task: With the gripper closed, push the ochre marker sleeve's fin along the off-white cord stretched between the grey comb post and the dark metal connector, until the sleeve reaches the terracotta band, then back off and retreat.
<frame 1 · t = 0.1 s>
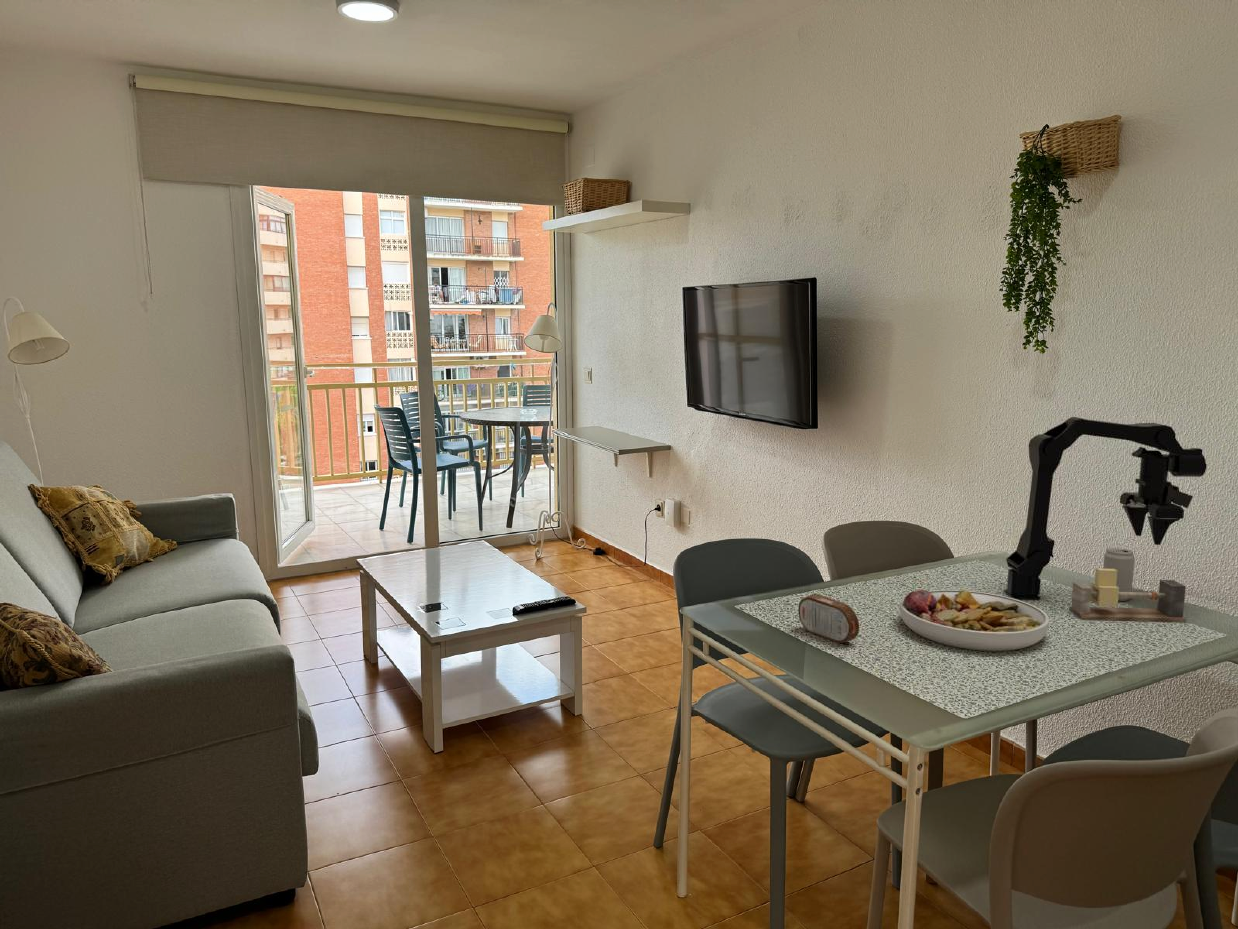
hand: (1147, 540, 210), 15 cm above the table, fingers open, 9 cm apart
beverage can: (1115, 599, 213), on the table
bowl: (971, 632, 190), on the table
tin: (826, 638, 186), on the table
marker sleeve: (1105, 586, 199), point 7 cm above the table, slide at 0.0 cm
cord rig: (1125, 616, 199), on the table
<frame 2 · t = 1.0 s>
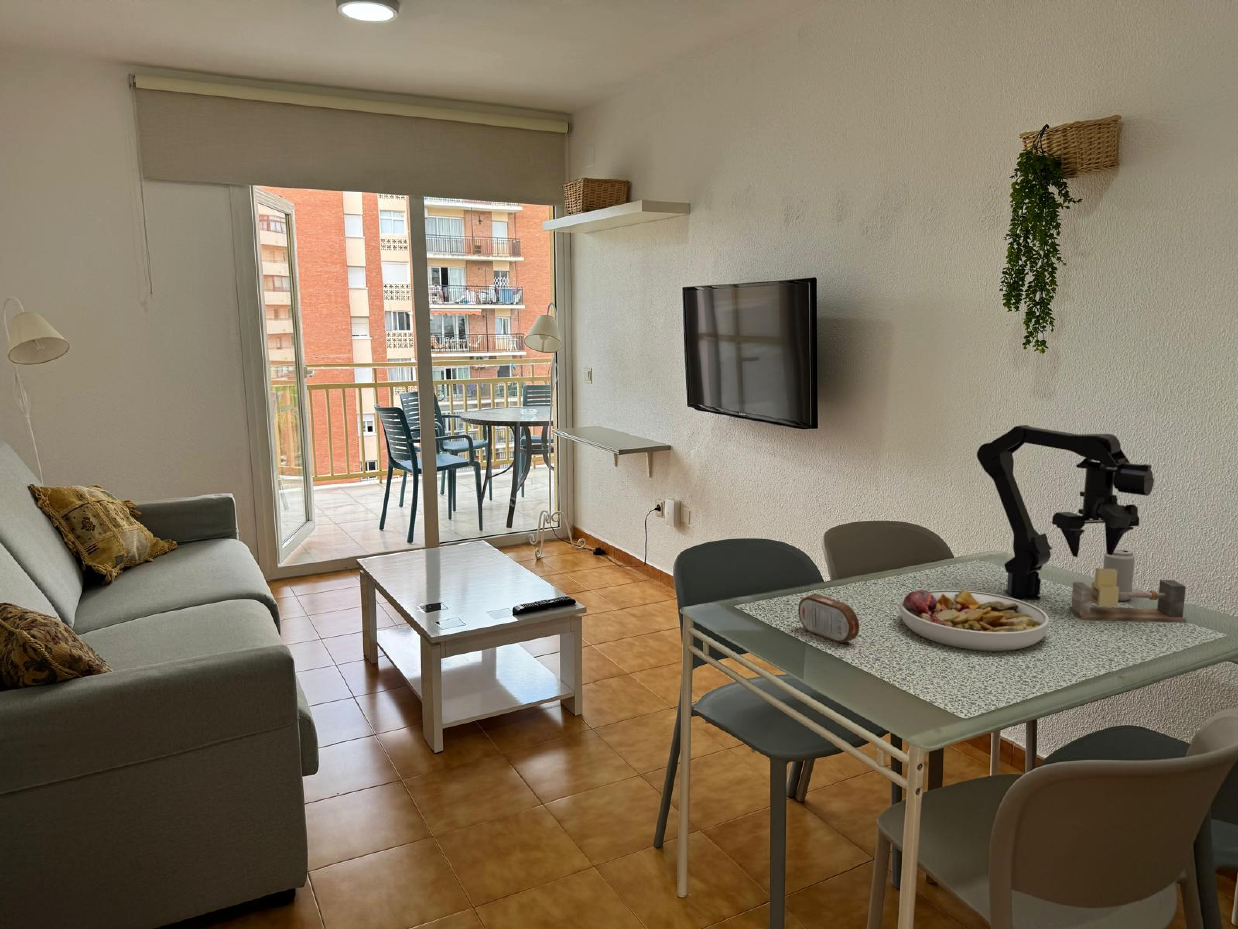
hand: (1092, 555, 201), 13 cm above the table, fingers open, 9 cm apart
nothing on the table moved.
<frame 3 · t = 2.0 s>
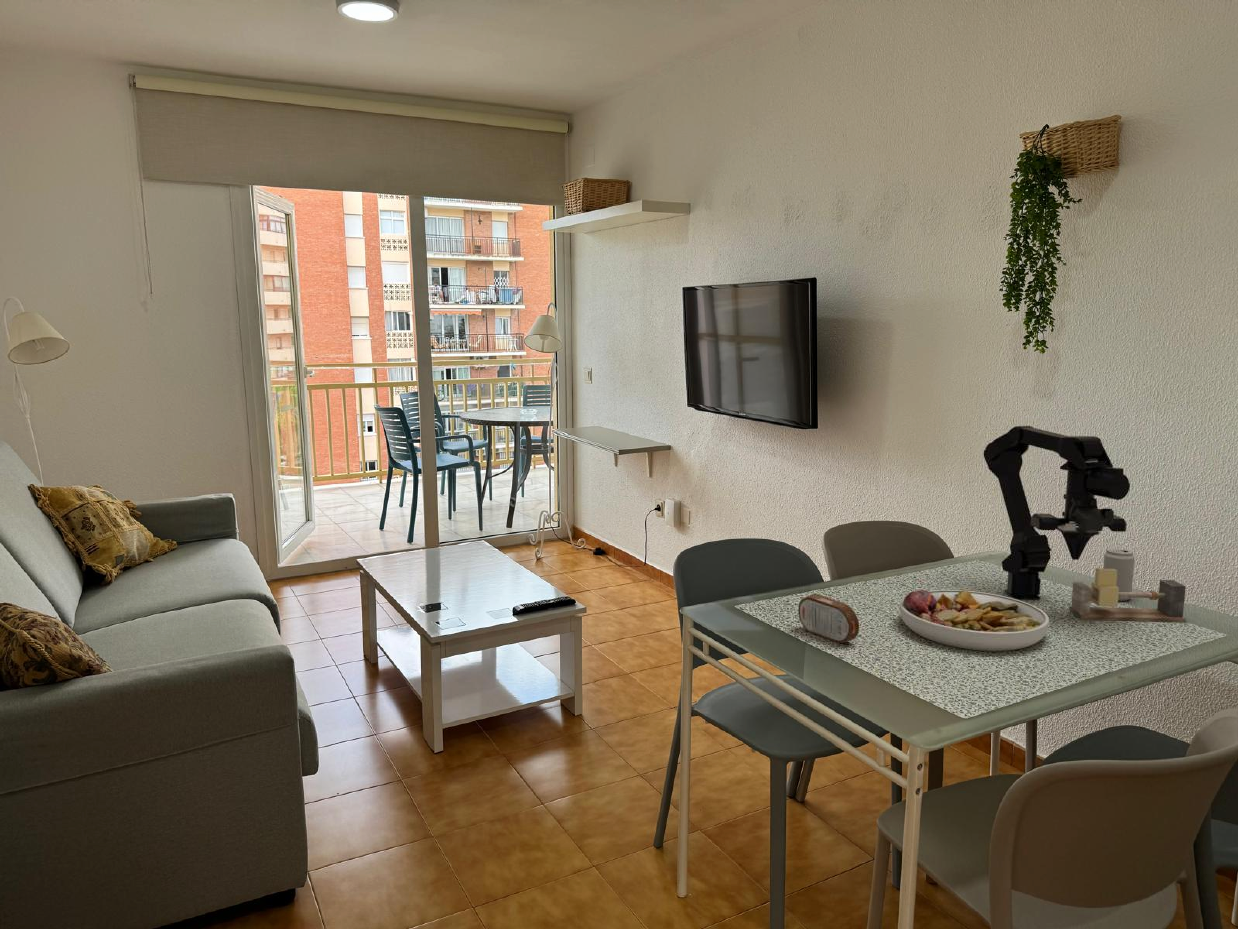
hand: (1075, 559, 198), 13 cm above the table, fingers closed
nothing on the table moved.
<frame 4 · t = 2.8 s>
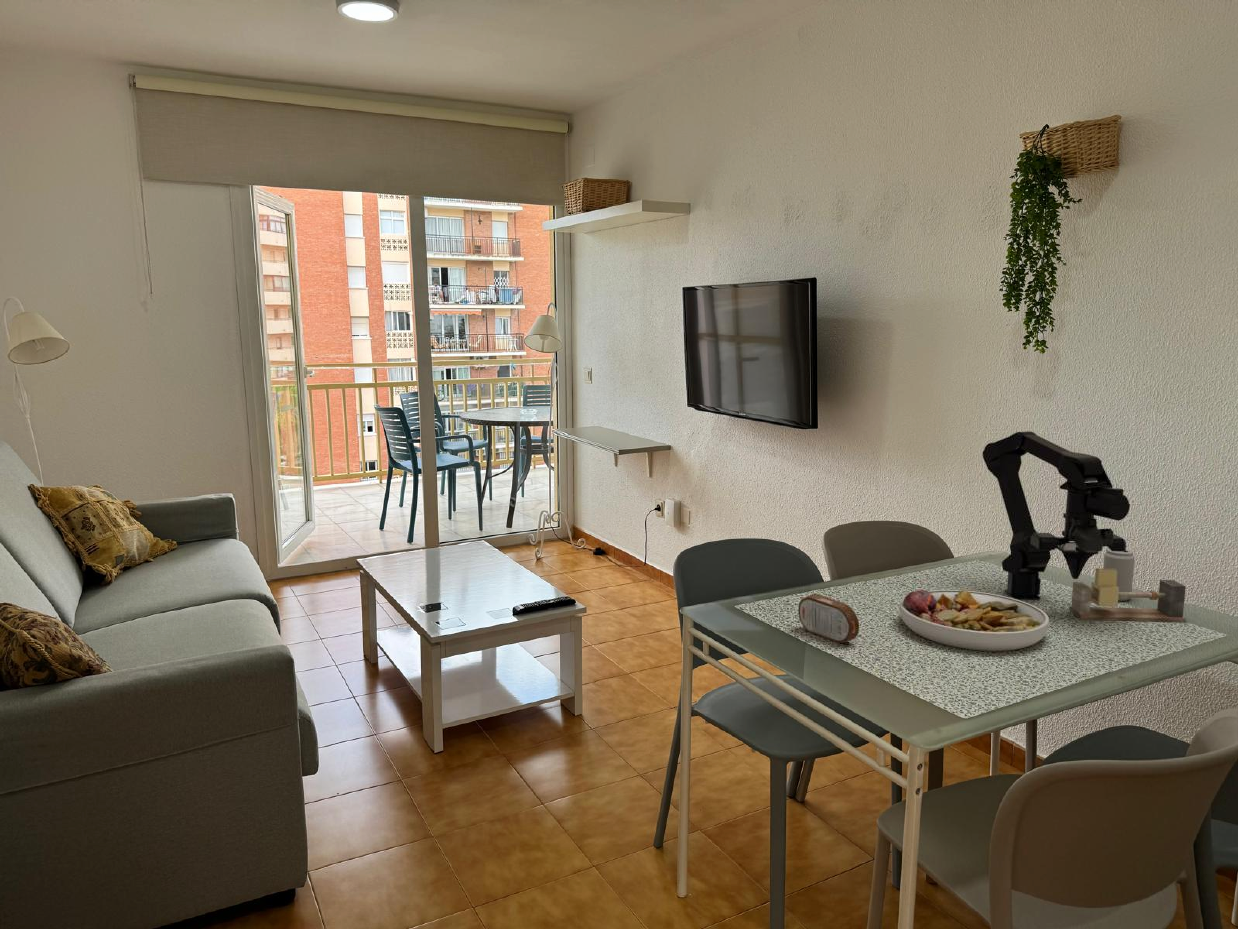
hand: (1074, 578, 199), 9 cm above the table, fingers closed
nothing on the table moved.
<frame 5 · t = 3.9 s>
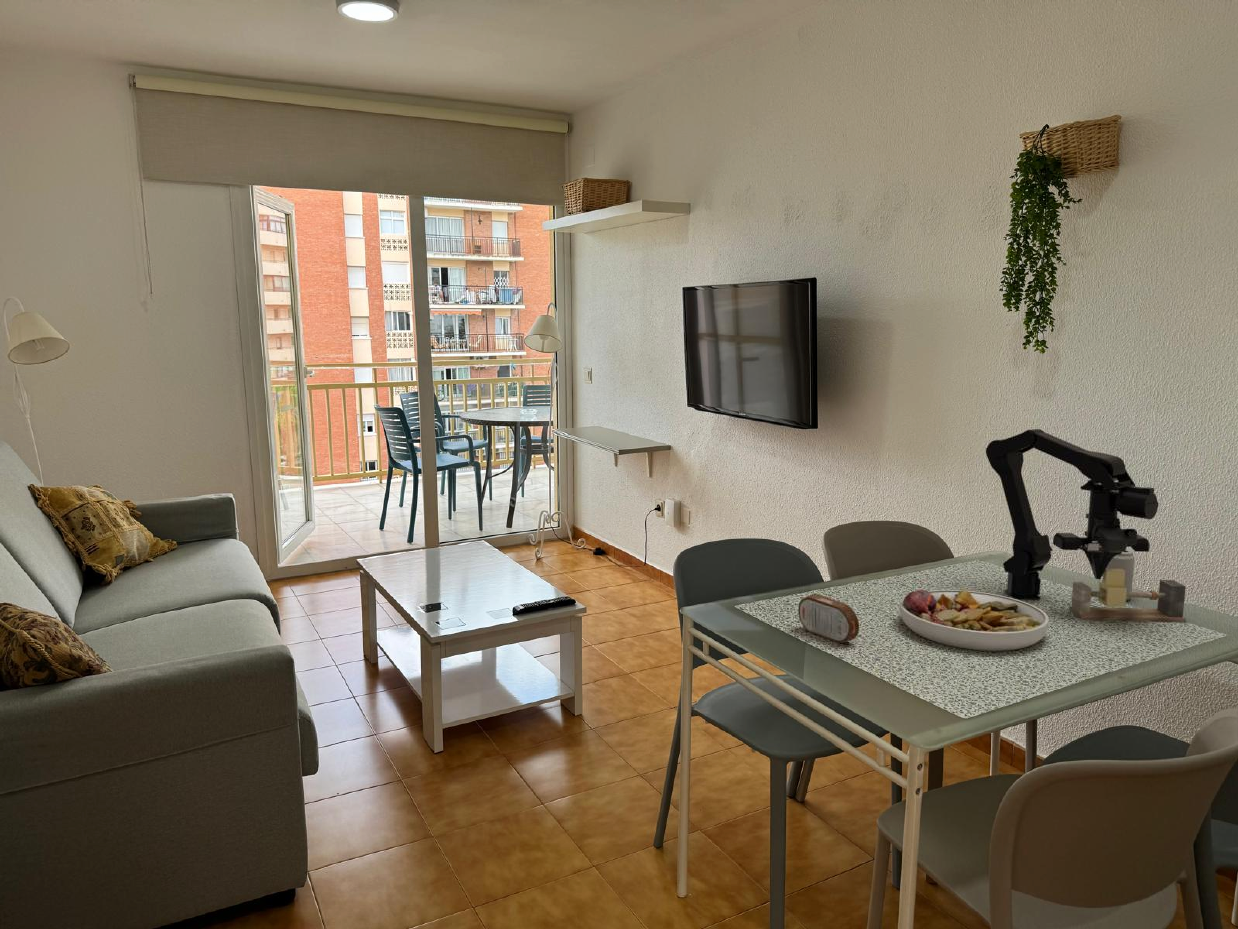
hand: (1097, 579, 199), 9 cm above the table, fingers closed
marker sleeve: (1112, 586, 199), point 7 cm above the table, slide at 1.7 cm, touching gripper
everything else where it was.
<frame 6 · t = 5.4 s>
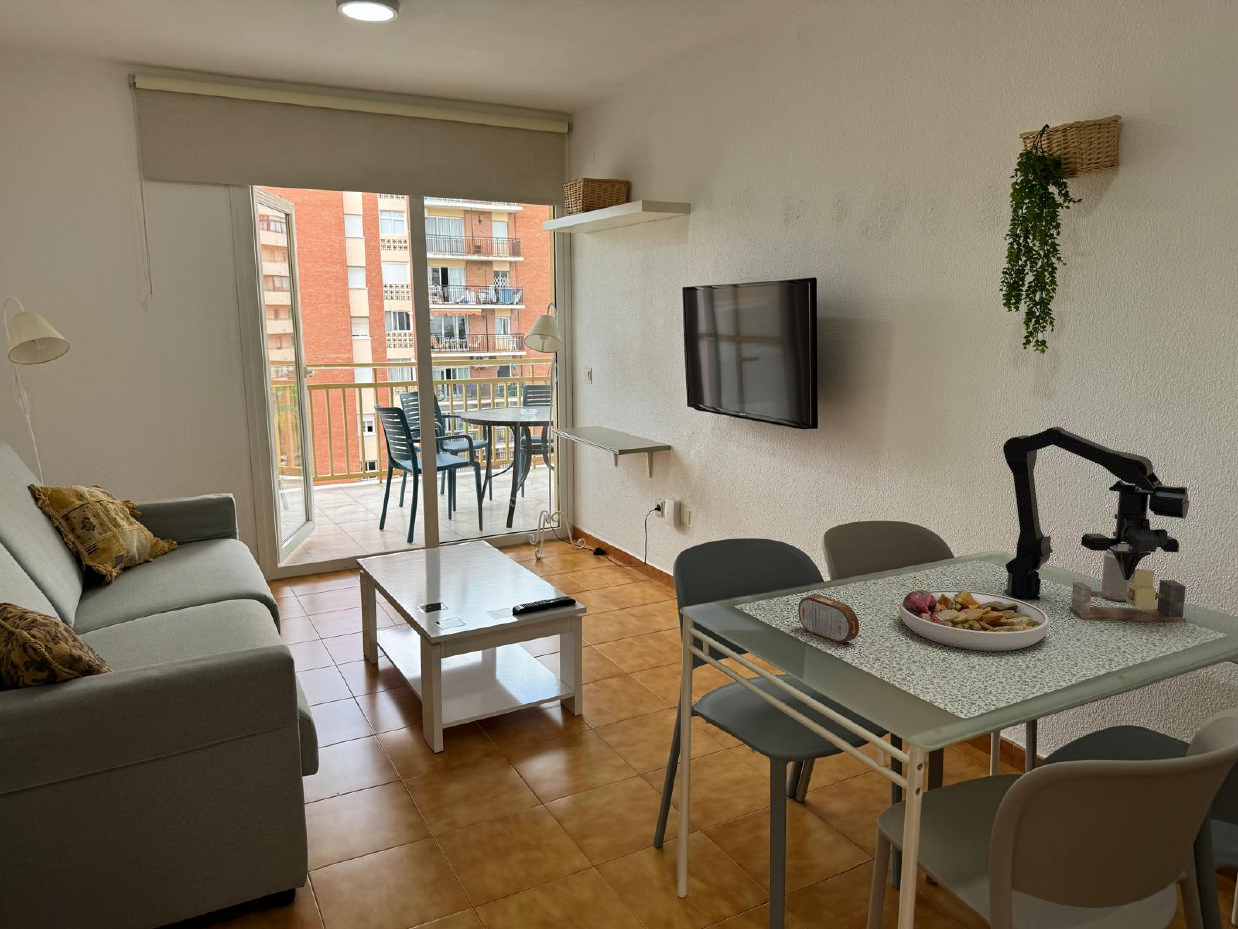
hand: (1126, 579, 198), 9 cm above the table, fingers closed
marker sleeve: (1141, 587, 198), point 7 cm above the table, slide at 7.9 cm, touching gripper
everything else where it was.
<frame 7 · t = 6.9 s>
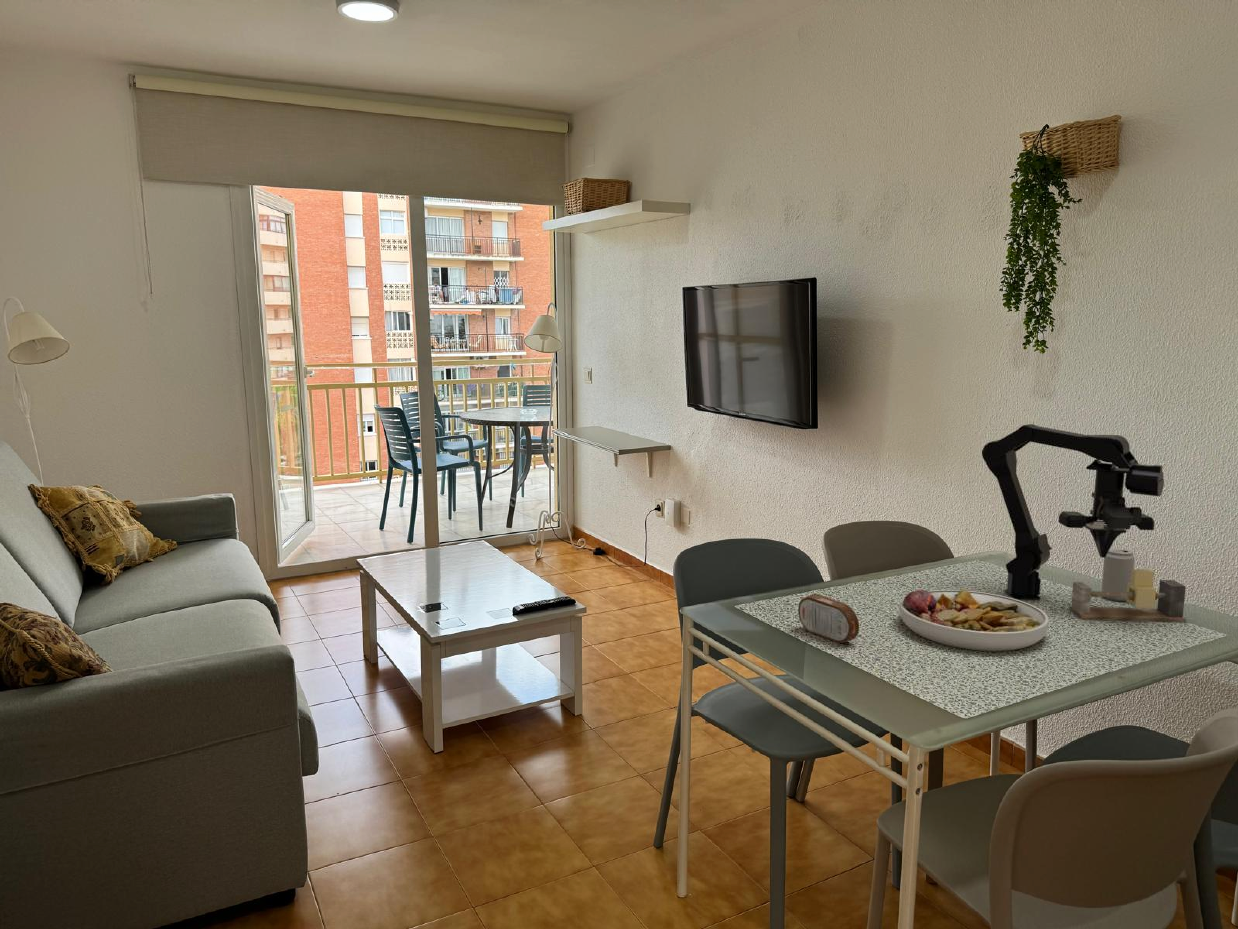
hand: (1102, 557, 201), 13 cm above the table, fingers closed
marker sleeve: (1141, 587, 198), point 7 cm above the table, slide at 7.9 cm
everything else where it was.
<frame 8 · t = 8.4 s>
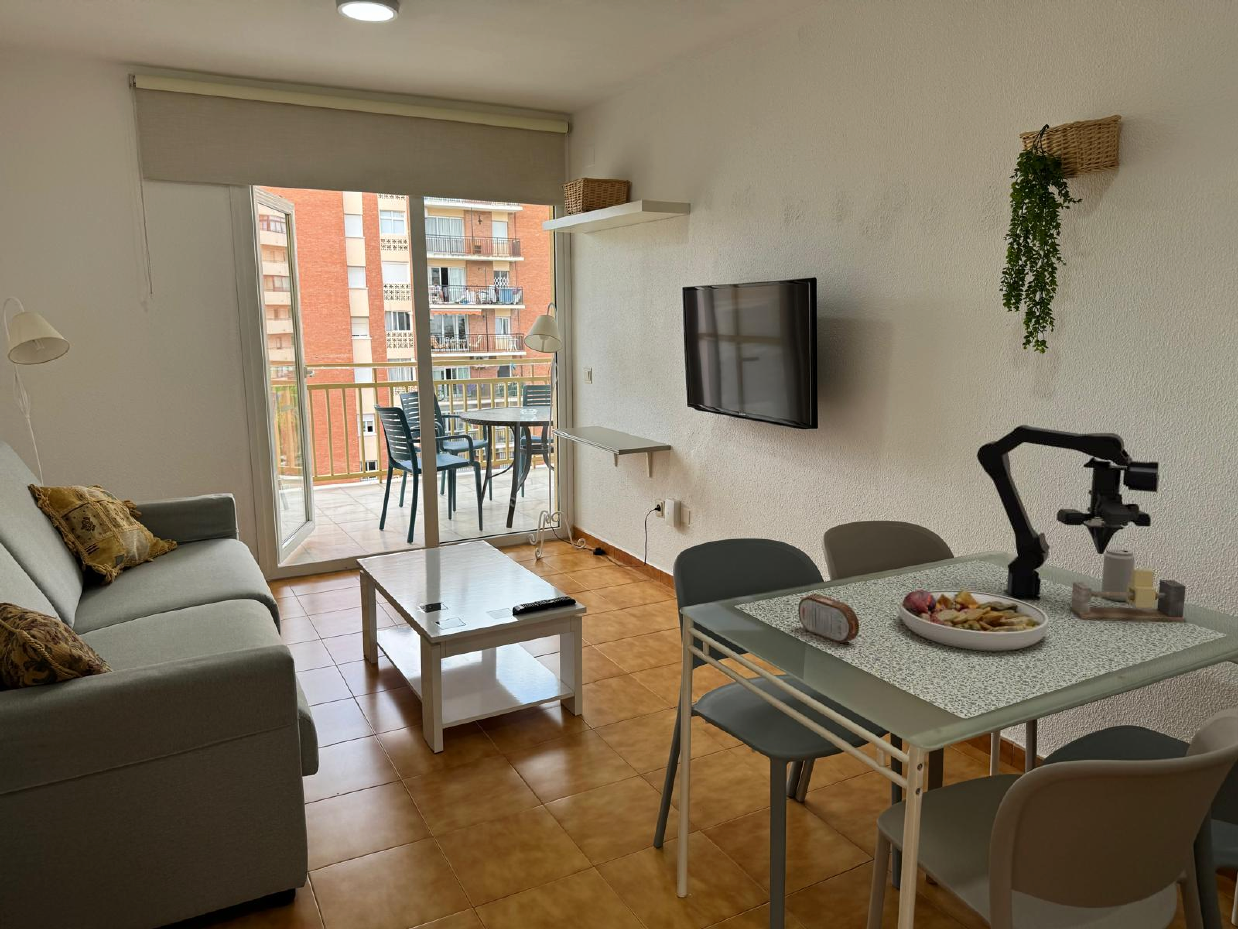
hand: (1100, 553, 204), 13 cm above the table, fingers closed
nothing on the table moved.
at the end: marker sleeve slide at 7.9 cm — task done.
